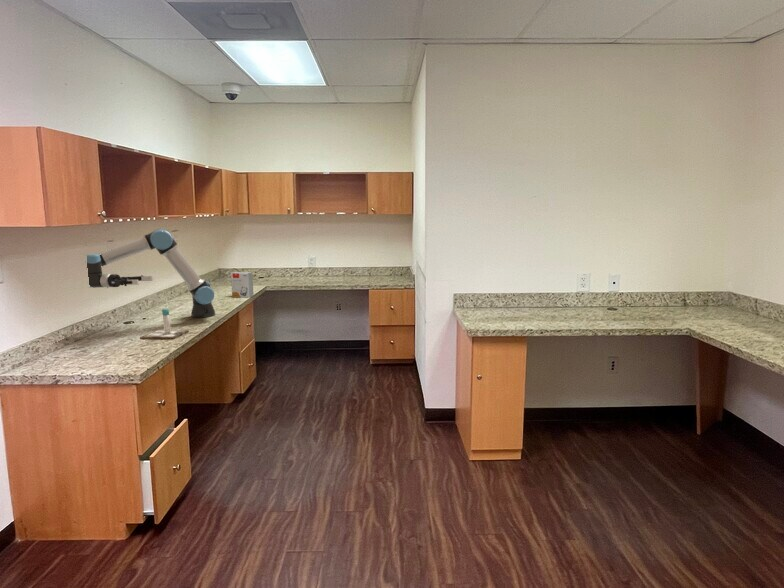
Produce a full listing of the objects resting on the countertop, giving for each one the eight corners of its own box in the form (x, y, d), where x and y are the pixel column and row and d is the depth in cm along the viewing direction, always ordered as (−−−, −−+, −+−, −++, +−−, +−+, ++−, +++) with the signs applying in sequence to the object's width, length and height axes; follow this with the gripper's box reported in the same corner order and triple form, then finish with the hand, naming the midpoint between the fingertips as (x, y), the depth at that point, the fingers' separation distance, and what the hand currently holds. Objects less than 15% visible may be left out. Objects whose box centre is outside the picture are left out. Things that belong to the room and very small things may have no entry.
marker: (166, 332, 288) (164, 308, 285) (172, 332, 287) (169, 308, 285) (163, 334, 284) (160, 310, 282) (169, 334, 284) (166, 310, 281)
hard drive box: (231, 297, 404) (229, 273, 401) (236, 295, 412) (234, 271, 408) (249, 297, 401) (247, 273, 397) (254, 296, 408) (252, 271, 405)
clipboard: (157, 331, 296) (157, 328, 295) (188, 332, 293) (188, 328, 292) (140, 338, 280) (139, 335, 280) (173, 339, 277) (172, 335, 277)
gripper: (125, 283, 306) (158, 283, 304) (97, 290, 282) (132, 290, 279) (124, 271, 305) (156, 271, 302) (95, 277, 280) (131, 277, 278)
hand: (145, 280), depth 291 cm, fingers open, 13 cm apart
